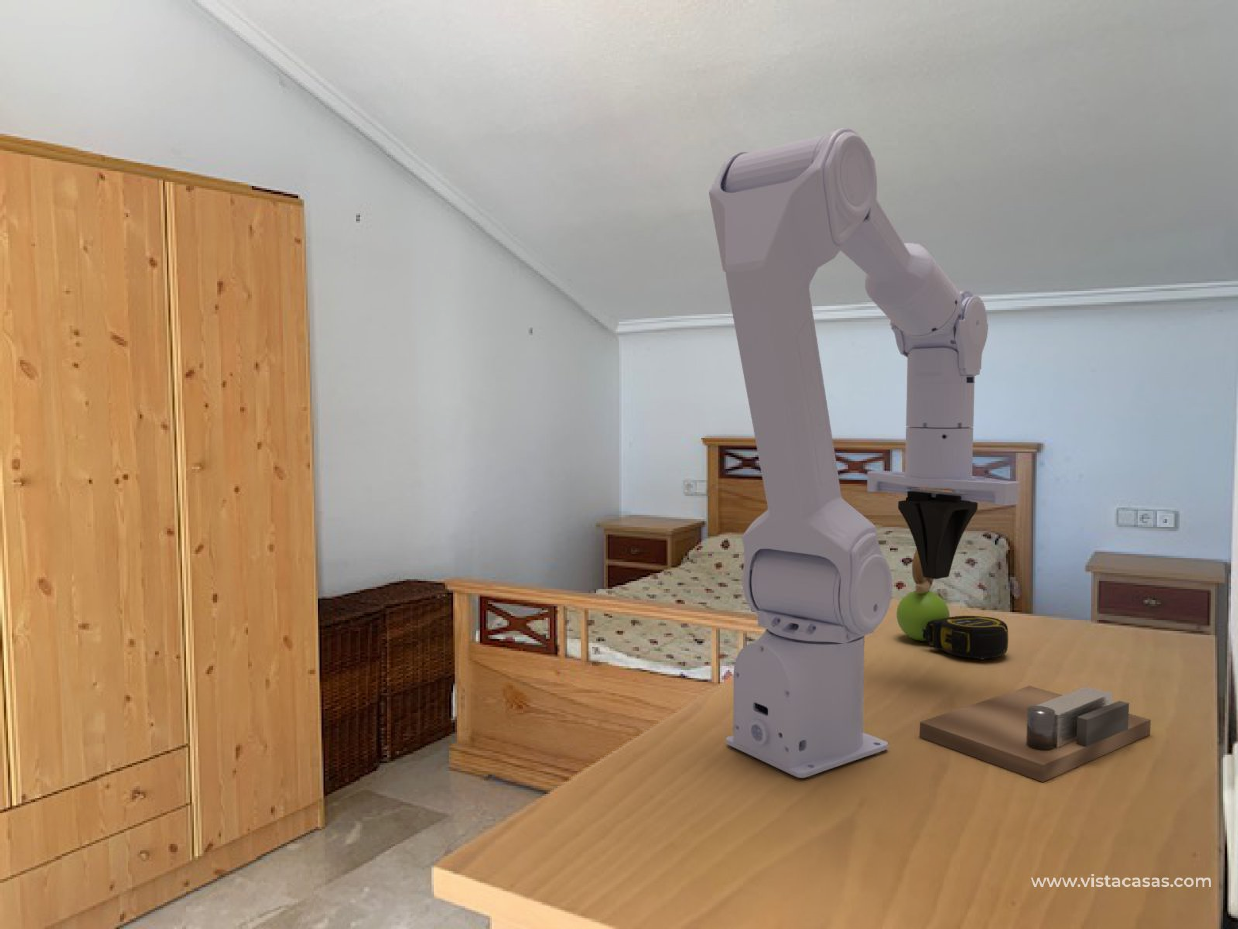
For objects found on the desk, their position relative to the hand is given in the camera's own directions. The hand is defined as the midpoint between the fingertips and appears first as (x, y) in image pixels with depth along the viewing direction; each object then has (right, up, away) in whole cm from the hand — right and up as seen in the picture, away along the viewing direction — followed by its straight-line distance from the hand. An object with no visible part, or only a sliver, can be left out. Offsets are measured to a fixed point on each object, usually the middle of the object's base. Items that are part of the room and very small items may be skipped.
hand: (936, 577), depth 82 cm
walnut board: (+3, -11, -12) cm, 17 cm away
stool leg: (+4, -10, -15) cm, 18 cm away
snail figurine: (+4, -9, +16) cm, 19 cm away
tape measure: (+7, -10, +11) cm, 16 cm away
